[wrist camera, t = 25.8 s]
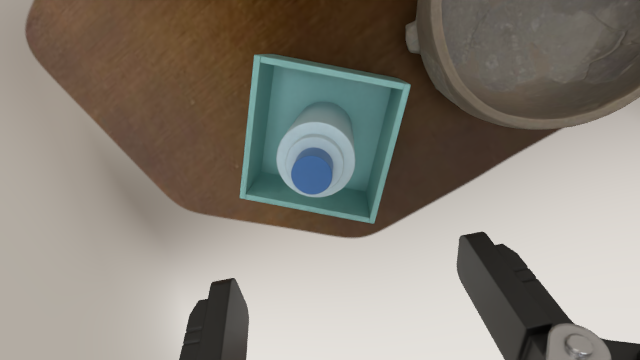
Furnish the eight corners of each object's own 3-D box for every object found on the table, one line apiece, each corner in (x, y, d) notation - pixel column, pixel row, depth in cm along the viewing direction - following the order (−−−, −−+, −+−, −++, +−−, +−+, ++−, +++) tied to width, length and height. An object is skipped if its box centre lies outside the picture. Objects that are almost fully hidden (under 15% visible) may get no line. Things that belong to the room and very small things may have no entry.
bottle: (297, 158, 35) (271, 216, 23) (293, 102, 33) (262, 132, 21) (353, 157, 34) (357, 215, 22) (352, 100, 33) (356, 130, 20)
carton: (257, 173, 36) (239, 198, 30) (271, 53, 32) (254, 54, 26) (369, 195, 36) (374, 224, 30) (398, 78, 32) (411, 84, 26)
